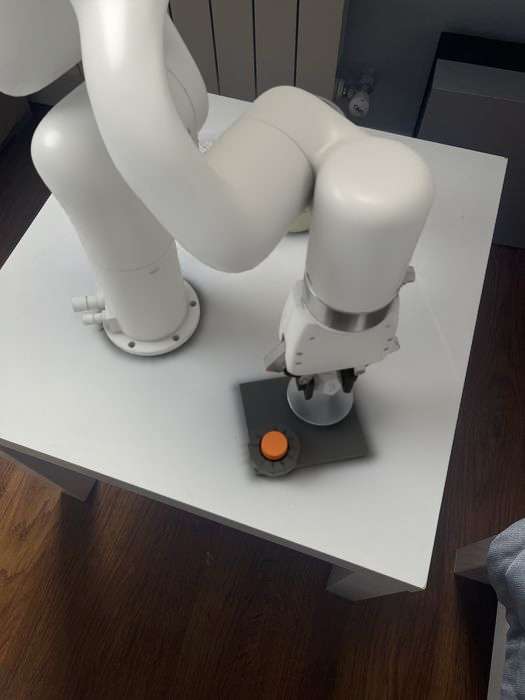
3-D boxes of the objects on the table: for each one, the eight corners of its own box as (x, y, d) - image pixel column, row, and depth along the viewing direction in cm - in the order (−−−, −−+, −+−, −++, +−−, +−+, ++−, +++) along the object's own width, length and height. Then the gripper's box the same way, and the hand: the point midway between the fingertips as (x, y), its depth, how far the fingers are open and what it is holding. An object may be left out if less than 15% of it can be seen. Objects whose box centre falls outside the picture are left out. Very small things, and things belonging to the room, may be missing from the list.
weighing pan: (294, 431, 60) (295, 430, 59) (281, 371, 63) (281, 369, 63) (360, 420, 61) (361, 418, 60) (343, 361, 64) (343, 359, 64)
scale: (253, 484, 60) (253, 476, 57) (236, 389, 66) (235, 378, 63) (368, 463, 61) (373, 455, 59) (341, 371, 67) (345, 360, 64)
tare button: (263, 462, 59) (264, 457, 57) (259, 438, 60) (259, 433, 59) (289, 457, 59) (289, 453, 57) (283, 433, 60) (284, 429, 59)
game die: (306, 371, 60) (308, 358, 57) (339, 370, 60) (343, 357, 58) (309, 400, 58) (311, 388, 56) (343, 399, 58) (347, 387, 56)
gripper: (431, 237, 46) (386, 343, 62) (239, 264, 44) (244, 366, 60) (463, 309, 42) (407, 402, 58) (255, 342, 41) (256, 429, 57)
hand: (324, 383), depth 59 cm, fingers closed on game die, 3 cm apart
